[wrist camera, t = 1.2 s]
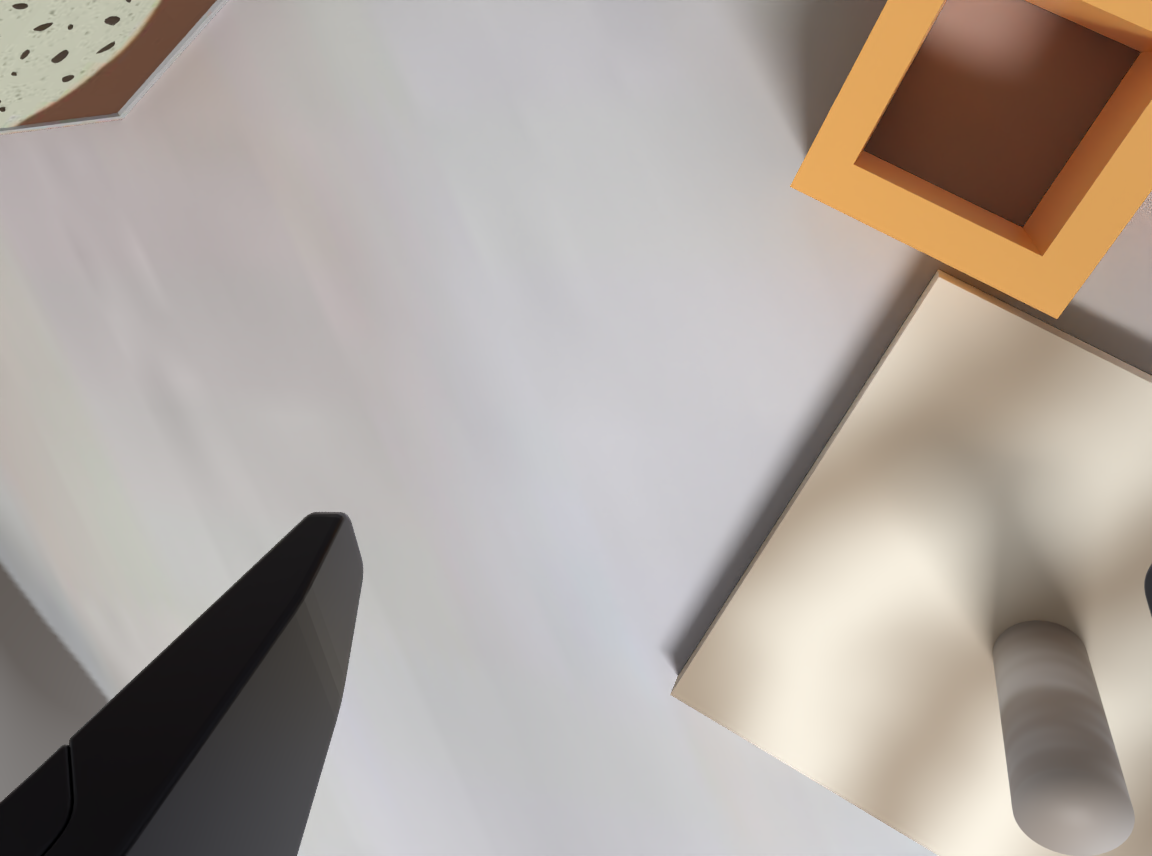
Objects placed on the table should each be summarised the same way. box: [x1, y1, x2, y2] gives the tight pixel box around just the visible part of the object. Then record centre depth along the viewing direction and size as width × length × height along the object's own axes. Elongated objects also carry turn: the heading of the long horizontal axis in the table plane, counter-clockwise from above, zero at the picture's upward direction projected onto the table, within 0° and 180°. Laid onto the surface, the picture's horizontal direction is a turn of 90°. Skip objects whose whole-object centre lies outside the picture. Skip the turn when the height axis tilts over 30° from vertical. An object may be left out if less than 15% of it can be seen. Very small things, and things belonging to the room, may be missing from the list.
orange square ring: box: [790, 0, 1152, 319], centre depth 20 cm, size 6×6×4 cm
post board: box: [670, 269, 1152, 856], centre depth 23 cm, size 16×16×7 cm
